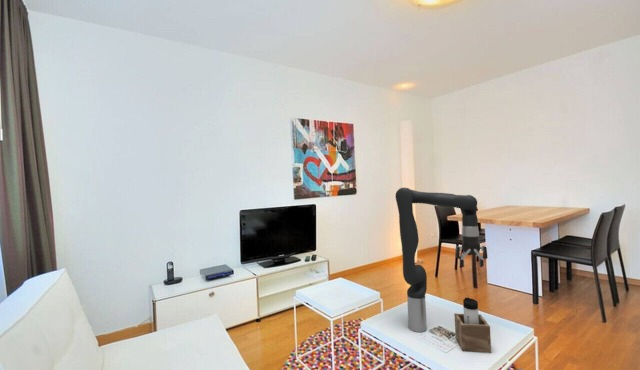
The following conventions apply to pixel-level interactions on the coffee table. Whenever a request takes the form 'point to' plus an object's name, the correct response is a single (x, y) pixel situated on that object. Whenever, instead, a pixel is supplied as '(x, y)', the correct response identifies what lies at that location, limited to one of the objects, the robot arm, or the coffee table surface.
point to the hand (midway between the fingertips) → (471, 266)
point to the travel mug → (470, 311)
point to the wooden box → (473, 335)
